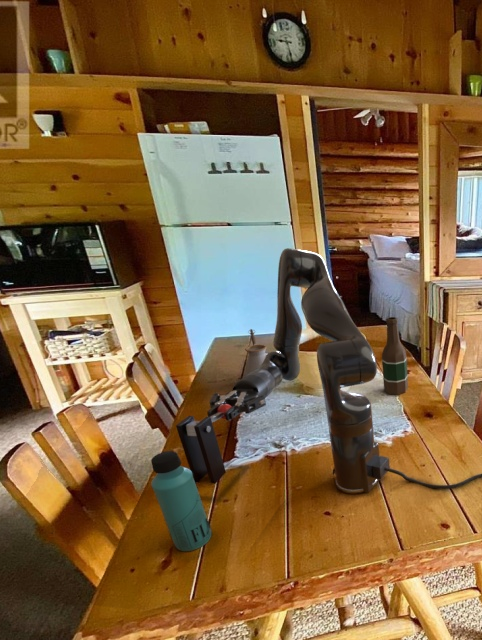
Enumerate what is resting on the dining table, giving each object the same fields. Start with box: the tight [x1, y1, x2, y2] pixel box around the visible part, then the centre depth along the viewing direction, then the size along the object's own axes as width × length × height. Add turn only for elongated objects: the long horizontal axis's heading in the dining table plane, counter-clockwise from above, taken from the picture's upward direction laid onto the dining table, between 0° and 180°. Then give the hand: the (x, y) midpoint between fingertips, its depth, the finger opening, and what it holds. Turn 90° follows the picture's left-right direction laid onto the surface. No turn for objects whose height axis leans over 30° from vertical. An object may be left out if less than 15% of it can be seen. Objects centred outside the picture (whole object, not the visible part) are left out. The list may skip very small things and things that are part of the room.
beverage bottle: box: [150, 450, 213, 552], centre depth 78 cm, size 6×7×20 cm
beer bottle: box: [381, 316, 409, 396], centre depth 138 cm, size 8×8×24 cm
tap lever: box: [186, 404, 232, 436], centre depth 99 cm, size 14×4×4 cm, turn 174°
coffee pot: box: [243, 328, 268, 377], centre depth 149 cm, size 21×12×15 cm, turn 25°
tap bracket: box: [175, 415, 227, 485], centre depth 96 cm, size 12×10×16 cm
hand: (218, 416), depth 101 cm, fingers closed on tap lever, 3 cm apart
